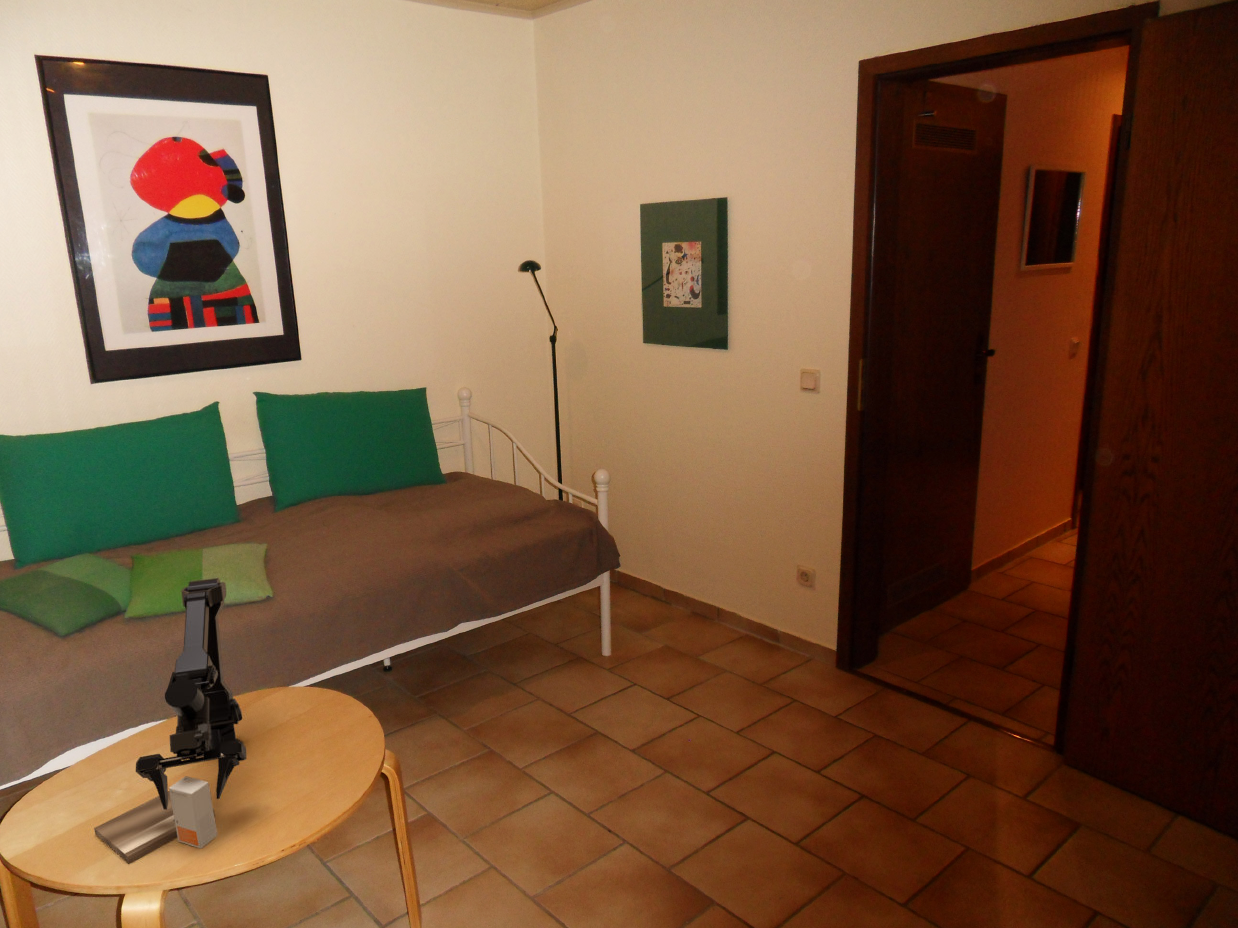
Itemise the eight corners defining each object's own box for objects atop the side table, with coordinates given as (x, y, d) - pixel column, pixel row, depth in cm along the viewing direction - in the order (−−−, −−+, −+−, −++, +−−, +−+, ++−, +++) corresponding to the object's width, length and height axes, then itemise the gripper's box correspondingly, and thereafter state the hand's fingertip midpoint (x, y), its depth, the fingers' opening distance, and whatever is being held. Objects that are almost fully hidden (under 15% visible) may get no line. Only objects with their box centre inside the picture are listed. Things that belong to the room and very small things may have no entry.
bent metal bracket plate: (95, 834, 167) (93, 826, 167) (179, 792, 180) (178, 784, 180) (129, 863, 159) (127, 855, 158) (215, 816, 171) (213, 809, 171)
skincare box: (177, 842, 164) (167, 787, 161) (195, 828, 168) (186, 774, 165) (201, 849, 162) (191, 793, 159) (218, 835, 166) (209, 780, 163)
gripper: (129, 719, 162) (124, 805, 154) (235, 702, 167) (236, 783, 159) (145, 736, 171) (142, 817, 163) (246, 719, 176) (247, 797, 168)
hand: (191, 803), depth 163 cm, fingers open, 9 cm apart
